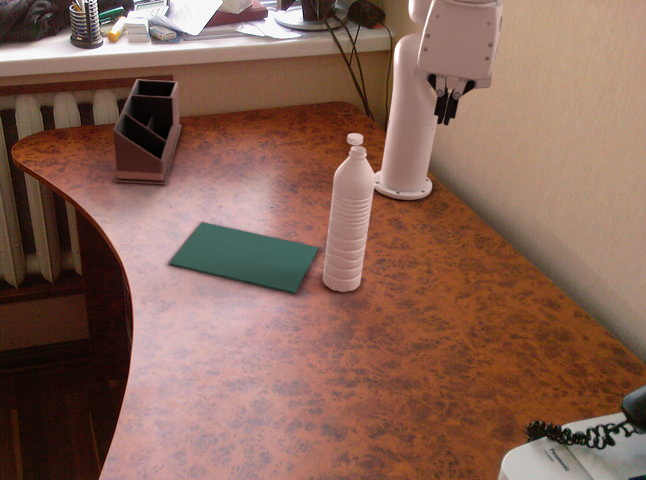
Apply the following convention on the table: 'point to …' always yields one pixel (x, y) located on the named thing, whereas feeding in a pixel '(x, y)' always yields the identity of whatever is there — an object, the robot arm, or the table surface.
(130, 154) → the desk organizer
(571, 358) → the table surface
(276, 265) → the mat
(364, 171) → the water bottle
